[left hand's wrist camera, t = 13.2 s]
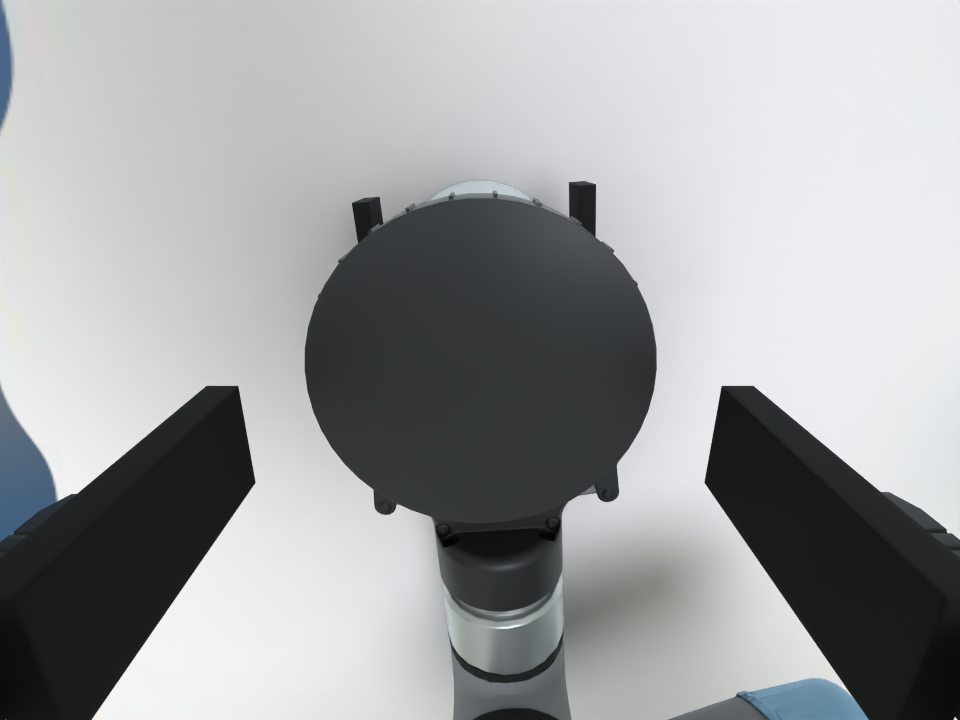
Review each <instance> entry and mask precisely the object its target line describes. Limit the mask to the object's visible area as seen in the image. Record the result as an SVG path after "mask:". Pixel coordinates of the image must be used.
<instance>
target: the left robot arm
mask: <svg viewBox="0 0 960 720" xmlns="http://www.w3.org/2000/svg"><path fill="white" fill-rule="evenodd" d="M254 484H255V478H254V472H253V466H252V461H251V455H250V449H249V444H248V438H247V433H246V427H245V421H244V416H243V410H242V405H241V399H240V393H239V388H238V386H206V387H205V388H204V389H202V390H201V391H200V392H199V393H198V394H196V395H195V396H194V397H193V398H192V399H190V400H189V401H188V402H187V403H186V404H184V405H183V406H182V407H181V408H180V409H178V410H177V411H176V412H175V413H174V414H172V415H171V416H170V417H169V418H168V419H166V420H165V421H164V422H163V423H162V424H160V425H159V426H158V427H157V428H156V429H154V430H153V431H152V432H151V433H150V434H148V435H147V436H146V437H145V438H144V439H142V440H141V441H140V442H139V443H138V444H136V445H135V446H134V447H133V448H132V449H130V450H129V451H128V452H127V453H126V454H124V455H123V456H122V457H121V458H120V459H118V460H117V461H116V462H115V463H114V464H112V465H111V466H110V467H109V468H108V469H106V470H105V471H104V472H103V473H102V474H100V475H99V476H98V477H97V478H96V479H95V480H93V481H92V482H91V483H90V484H89V485H87V486H86V487H85V488H84V489H83V490H81V491H80V492H79V493H78V494H71V495H69V496H67V497H65V498H63V499H61V500H60V501H58V502H56V503H54V504H52V505H50V506H48V507H46V508H44V509H43V510H41V511H39V512H38V513H37V514H35V515H34V516H33V517H32V518H30V519H29V520H28V521H27V522H25V523H24V524H23V525H22V526H20V527H19V528H18V529H17V530H15V531H14V535H9V536H8V537H7V538H5V539H4V540H3V541H2V542H0V720H5V719H6V720H92V718H93V717H94V715H95V714H96V712H97V711H98V710H99V708H100V707H101V705H102V704H103V702H104V701H105V699H106V698H107V697H108V695H109V694H110V692H111V691H112V689H113V688H114V686H115V685H116V683H117V682H118V681H119V679H120V678H121V676H122V675H123V673H124V672H125V670H126V669H127V668H128V666H129V665H130V663H131V662H132V660H133V659H134V657H135V656H136V655H137V653H138V652H139V650H140V649H141V647H142V646H143V644H144V643H145V642H146V640H147V639H148V637H149V636H150V634H151V633H152V631H153V630H154V629H155V627H156V626H157V624H158V623H159V621H160V620H161V618H162V617H163V616H164V614H165V613H166V611H167V610H168V608H169V607H170V605H171V604H172V603H173V601H174V600H175V598H176V597H177V595H178V594H179V592H180V591H181V590H182V588H183V587H184V585H185V584H186V582H187V581H188V579H189V578H190V577H191V575H192V574H193V572H194V571H195V569H196V568H197V566H198V565H199V564H200V562H201V561H202V559H203V558H204V556H205V555H206V553H207V552H208V551H209V549H210V548H211V546H212V545H213V543H214V542H215V540H216V539H217V538H218V536H219V535H220V533H221V532H222V530H223V529H224V527H225V526H226V525H227V523H228V522H229V520H230V519H231V517H232V516H233V514H234V513H235V512H236V510H237V509H238V507H239V506H240V504H241V503H242V501H243V500H244V498H245V497H246V496H247V494H248V493H249V491H250V490H251V488H252V487H253V485H254ZM705 484H706V485H707V487H708V488H709V490H710V491H711V493H712V494H713V496H714V497H715V499H716V500H717V501H718V503H719V504H720V506H721V507H722V509H723V510H724V512H725V513H726V514H727V516H728V517H729V519H730V520H731V522H732V523H733V525H734V526H735V527H736V529H737V530H738V532H739V533H740V535H741V536H742V538H743V539H744V540H745V542H746V543H747V545H748V546H749V548H750V549H751V551H752V552H753V553H754V555H755V556H756V558H757V559H758V561H759V562H760V564H761V565H762V566H763V568H764V569H765V571H766V572H767V574H768V575H769V577H770V578H771V579H772V581H773V582H774V584H775V585H776V587H777V588H778V590H779V591H780V592H781V594H782V595H783V597H784V598H785V600H786V601H787V603H788V604H789V605H790V607H791V608H792V610H793V611H794V613H795V614H796V616H797V617H798V618H799V620H800V621H801V623H802V624H803V626H804V627H805V629H806V630H807V631H808V633H809V634H810V636H811V637H812V639H813V640H814V642H815V643H816V644H817V646H818V647H819V649H820V650H821V652H822V653H823V655H824V656H825V657H826V659H827V660H828V662H829V663H830V665H831V666H832V668H833V669H834V670H835V672H836V673H837V675H838V676H839V678H840V679H841V681H842V682H843V683H844V685H845V686H846V688H847V689H848V691H849V692H850V694H851V695H852V697H853V698H854V699H855V701H856V702H857V704H858V705H859V707H860V708H861V710H862V711H863V712H864V714H865V715H866V717H867V718H868V720H954V717H956V718H957V720H960V540H959V539H958V538H957V537H955V536H954V535H953V534H952V533H947V531H946V530H947V529H945V528H944V527H943V526H942V525H940V524H939V523H938V522H937V521H935V520H934V519H933V518H932V517H930V516H929V515H928V514H927V513H925V512H924V511H923V510H922V509H920V508H918V507H916V506H914V505H912V504H910V503H908V502H906V501H905V500H903V499H901V498H899V497H897V496H895V495H893V494H891V493H889V492H880V491H879V490H877V489H876V488H875V487H874V486H873V485H871V484H870V483H869V482H868V481H867V480H865V479H864V478H863V477H862V476H861V475H859V474H858V473H857V472H856V471H855V470H854V469H852V468H851V467H850V466H849V465H848V464H846V463H845V462H844V461H843V460H842V459H840V458H839V457H838V456H837V455H836V454H834V453H833V452H832V451H831V450H830V449H828V448H827V447H826V446H825V445H824V444H822V443H821V442H820V441H819V440H818V439H816V438H815V437H814V436H813V435H812V434H810V433H809V432H808V431H807V430H806V429H804V428H803V427H802V426H801V425H800V424H798V423H797V422H796V421H795V420H794V419H792V418H791V417H790V416H789V415H788V414H786V413H785V412H784V411H783V410H782V409H780V408H779V407H778V406H777V405H776V404H774V403H773V402H772V401H771V400H770V399H768V398H767V397H766V396H765V395H764V394H762V393H761V392H760V391H759V390H758V389H756V388H755V387H754V386H722V388H721V393H720V399H719V405H718V410H717V416H716V421H715V427H714V433H713V438H712V444H711V449H710V455H709V461H708V466H707V472H706V478H705Z"/></svg>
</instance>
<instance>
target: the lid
mask: <svg viewBox="0 0 960 720" xmlns="http://www.w3.org/2000/svg"><path fill="white" fill-rule="evenodd" d="M405 210H406V211H404V212H402V213H400V214H398V215H397V216H395V217H394V218H392V219H390V220H389V221H387V222H385V223H384V224H382V225H381V226H380V225H379V224H377V225H376V226H375V227H373V228H372V229H370V230H369V231H368V233H369V235H368V236H367V237H366V238H365V239H363V240H362V241H361V242H360V243H359V244H357V245H356V246H355V247H354V248H353V249H352V250H351V251H350V252H349V253H348V254H346V255H345V256H344V257H342V258H341V259H340V260H339V261H338V263H339V264H338V266H337V267H336V269H335V270H334V272H333V273H332V275H331V276H330V278H329V279H328V281H327V282H326V284H325V285H324V287H323V289H322V291H321V293H320V294H319V295H318V300H317V302H316V304H315V306H314V310H313V313H312V316H311V320H310V323H309V326H308V332H307V338H306V345H305V375H306V382H307V390H308V394H309V398H310V401H311V405H312V408H313V412H314V414H315V416H316V419H317V421H318V423H319V426H320V428H321V430H322V432H323V434H324V435H325V437H326V439H327V440H328V442H329V444H330V445H331V447H332V448H333V450H334V451H335V452H336V453H337V455H338V456H339V457H340V459H341V460H342V461H343V462H344V464H345V465H346V466H347V467H348V468H349V469H350V470H351V471H352V472H353V473H354V474H355V475H356V476H357V477H358V478H359V479H361V480H362V481H363V482H365V483H366V484H367V485H368V486H370V487H371V488H372V489H374V490H375V491H376V492H378V493H380V494H381V495H383V496H385V497H386V498H388V499H390V500H391V501H393V502H395V503H397V504H399V505H402V506H404V507H406V508H408V509H410V510H413V511H416V512H419V513H422V514H425V515H428V516H431V517H436V518H440V519H445V520H450V521H458V522H467V523H494V522H503V521H512V520H516V519H521V518H526V517H530V516H533V515H536V514H539V513H542V512H545V511H548V510H551V509H553V508H555V507H558V506H560V505H562V504H564V503H566V502H568V501H570V500H572V499H573V498H575V497H577V496H578V495H580V494H582V493H583V492H585V491H586V490H588V489H589V488H590V487H592V486H593V485H594V484H595V483H597V482H598V481H599V480H600V479H602V478H603V477H604V476H605V475H606V474H607V473H608V472H609V471H610V470H611V469H612V468H613V467H614V466H615V465H616V464H617V463H618V462H619V460H620V459H621V458H622V456H623V455H624V454H625V453H626V451H627V450H628V449H629V447H630V446H631V444H632V442H633V441H634V439H635V437H636V436H637V434H638V432H639V431H640V429H641V426H642V424H643V422H644V419H645V417H646V415H647V412H648V410H649V406H650V402H651V399H652V395H653V391H654V385H655V377H656V370H657V362H656V342H655V336H654V330H653V325H652V322H651V318H650V315H649V312H648V309H647V305H646V303H645V301H644V299H643V297H642V295H641V293H640V291H639V289H638V286H637V285H638V284H637V282H636V281H634V280H633V278H632V277H631V275H630V274H629V273H628V271H627V270H626V268H625V267H624V265H623V264H622V263H621V262H620V261H619V260H618V258H617V257H616V256H615V255H614V254H613V252H614V250H613V249H612V248H611V247H609V246H608V245H607V244H605V243H604V242H603V241H602V242H600V241H599V240H598V239H597V238H596V237H594V236H593V235H592V234H591V233H589V232H588V231H587V230H586V229H584V228H583V227H582V226H581V224H582V223H581V222H580V221H578V220H577V219H575V218H574V217H572V216H571V217H570V219H569V218H568V217H566V216H565V215H563V214H561V213H560V212H558V211H556V210H553V209H551V208H549V207H546V206H544V205H542V203H541V202H540V201H538V200H537V199H534V200H533V201H530V200H527V199H523V198H519V197H516V196H509V195H502V194H498V193H497V191H495V190H493V193H467V194H459V195H455V192H451V193H450V195H449V196H445V197H442V198H438V199H435V200H431V201H428V202H424V203H422V204H419V205H417V206H415V204H411V205H410V206H409V207H407V208H406V209H405Z"/></svg>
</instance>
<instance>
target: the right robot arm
mask: <svg viewBox="0 0 960 720" xmlns="http://www.w3.org/2000/svg"><path fill="white" fill-rule="evenodd" d="M352 207H353V213H354V219H355V226H356V232H357V239H358V244H359V243H360V242H361V241H362V240H363V239H365V238H366V237H367V236H368V235H369V233H368V231H369V230H370V229H372V228H373V227H375V226H376V225H377V224H379V225H380V226H381V225H382V224H383V219H382V211H381V204H380V197H372V198H363V199H361V200H359V201H356V202H354V203H352ZM571 216H572V217H574V218H575V219H577V220H578V221H580V222H581V223H582V224H581V226H582V227H583V228H584V229H586V230H587V231H588V232H589V233H591V234H592V235H593V236H594V237H595V235H596V184H592V183H589V182H586V181H581V182H569V219H570V217H571ZM593 493H597V495H598V498H599V499H600V500H601V501H604V502H610V501H613V500H615V499H616V498H617V496H618V495H619V487H618V476H617V464H616V465H615V466H614V467H613V468H612V469H611V470H610V471H609V472H608V473H607V474H606V475H605V476H604V477H603V478H602V479H600V480H599V481H598V482H597V483H595V484H594V485H593V486H592V487H590V488H589V489H588V490H586V491H585V492H583V493H582V494H580V495H586V494H593ZM578 496H579V495H578ZM567 503H568V502H566V503H564V504H562V505H560V506H558V507H555V508H553V509H551V510H548V511H545V512H542V513H539V514H536V515H533V516H530V517H526V518H521V519H516V520H512V521H503V522H494V523H467V522H458V521H450V520H445V519H440V518H436V517H431V518H432V520H433V522H434V526H435V533H436V541H437V549H438V557H439V564H440V572H441V577H442V580H443V583H442V589H443V596H444V603H445V610H446V617H447V624H448V631H449V638H450V644H451V651H452V662H453V673H454V716H453V720H571V715H570V708H569V702H568V696H567V689H566V680H565V666H564V650H563V625H564V608H563V577H562V512H563V509H564V507H565V506H566V504H567ZM396 505H399V504H397V503H395V502H393V501H391V500H390V499H388V498H386V497H385V496H383V495H381V494H380V493H378V492H376V491H375V490H374V506H375V509H376V510H377V512H379V513H380V514H384V515H388V514H391V513H393V512H394V511H395V509H396ZM669 720H868V718H867V717H866V715H865V714H864V712H863V711H862V710H861V708H860V707H859V705H858V704H857V702H856V701H855V700H854V699H853V698H852V697H851V696H850V695H849V694H848V693H847V692H846V691H845V690H844V689H842V688H841V687H839V686H838V685H836V684H834V683H832V682H830V681H828V680H825V679H819V678H811V679H805V680H801V681H797V682H792V683H788V684H784V685H779V686H775V687H771V688H766V689H762V690H758V691H753V692H746V691H742V692H739V693H737V695H736V697H734V698H731V699H728V700H725V701H722V702H719V703H716V704H713V705H710V706H707V707H704V708H701V709H698V710H695V711H692V712H689V713H686V714H683V715H680V716H678V717H675V718H672V719H669Z"/></svg>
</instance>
